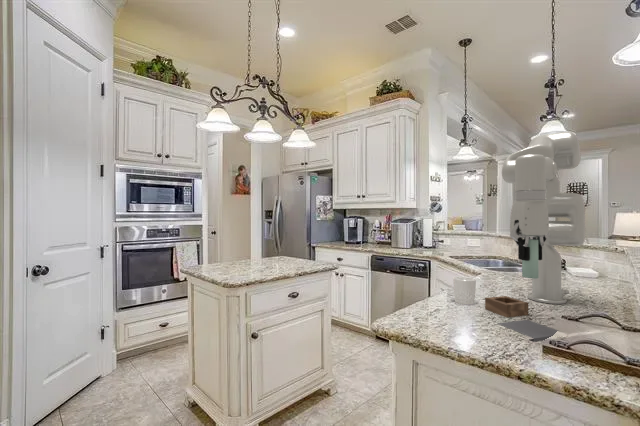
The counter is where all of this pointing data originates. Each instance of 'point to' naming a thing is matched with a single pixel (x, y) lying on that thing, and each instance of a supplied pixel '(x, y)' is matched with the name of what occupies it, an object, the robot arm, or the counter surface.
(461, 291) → the white cup
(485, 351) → the counter surface
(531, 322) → the mat
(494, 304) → the box
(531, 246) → the pale green cylinder
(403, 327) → the counter surface
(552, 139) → the robot arm
